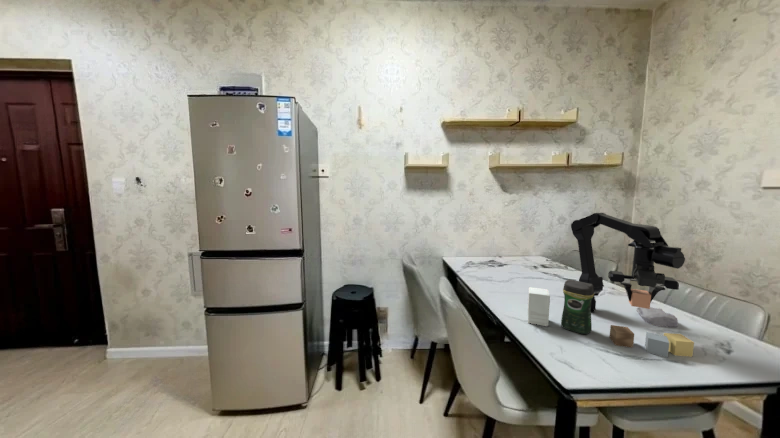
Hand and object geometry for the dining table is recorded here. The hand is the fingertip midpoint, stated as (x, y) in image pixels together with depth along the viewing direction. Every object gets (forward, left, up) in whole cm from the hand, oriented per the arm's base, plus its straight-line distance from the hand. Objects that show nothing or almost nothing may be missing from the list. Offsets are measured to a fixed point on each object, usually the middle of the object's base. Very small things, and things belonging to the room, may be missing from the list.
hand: (639, 302), depth 106 cm
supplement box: (-32, -8, -12) cm, 35 cm away
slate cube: (+3, -13, -12) cm, 17 cm away
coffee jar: (-19, -8, -12) cm, 24 cm away
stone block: (+9, +16, -12) cm, 22 cm away
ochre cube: (+9, -10, -12) cm, 17 cm away
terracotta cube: (0, 0, -1) cm, 1 cm away
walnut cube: (-6, -12, -12) cm, 18 cm away
